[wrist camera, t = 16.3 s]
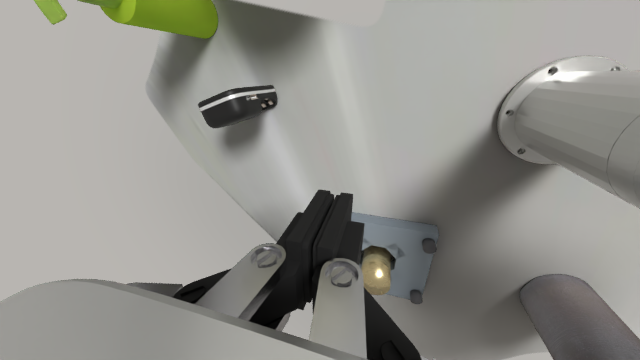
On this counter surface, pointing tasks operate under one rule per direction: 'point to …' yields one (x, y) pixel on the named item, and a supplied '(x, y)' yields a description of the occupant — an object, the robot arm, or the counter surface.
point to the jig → (402, 251)
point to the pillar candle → (576, 320)
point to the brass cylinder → (376, 270)
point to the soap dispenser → (150, 14)
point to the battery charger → (237, 105)
